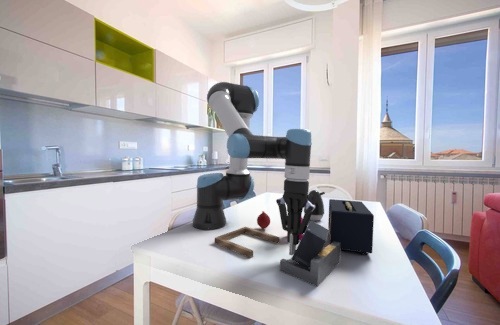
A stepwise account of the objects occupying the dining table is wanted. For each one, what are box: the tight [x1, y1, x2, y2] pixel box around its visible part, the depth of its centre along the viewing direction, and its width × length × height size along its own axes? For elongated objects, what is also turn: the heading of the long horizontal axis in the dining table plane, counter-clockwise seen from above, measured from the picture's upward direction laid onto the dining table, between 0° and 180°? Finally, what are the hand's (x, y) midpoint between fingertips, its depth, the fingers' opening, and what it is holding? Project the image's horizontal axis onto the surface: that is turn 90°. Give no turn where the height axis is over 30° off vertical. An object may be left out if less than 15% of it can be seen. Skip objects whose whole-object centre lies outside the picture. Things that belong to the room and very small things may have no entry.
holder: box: [214, 226, 280, 259], centre depth 81 cm, size 17×17×2 cm
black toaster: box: [327, 198, 375, 255], centre depth 83 cm, size 22×13×15 cm, turn 162°
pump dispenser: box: [303, 189, 326, 222], centre depth 112 cm, size 10×10×15 cm
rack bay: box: [279, 241, 341, 287], centre depth 64 cm, size 11×17×6 cm, turn 140°
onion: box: [256, 210, 271, 230], centre depth 96 cm, size 6×6×8 cm
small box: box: [290, 220, 329, 269], centre depth 66 cm, size 11×6×10 cm, turn 156°
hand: (292, 253), depth 69 cm, fingers closed
